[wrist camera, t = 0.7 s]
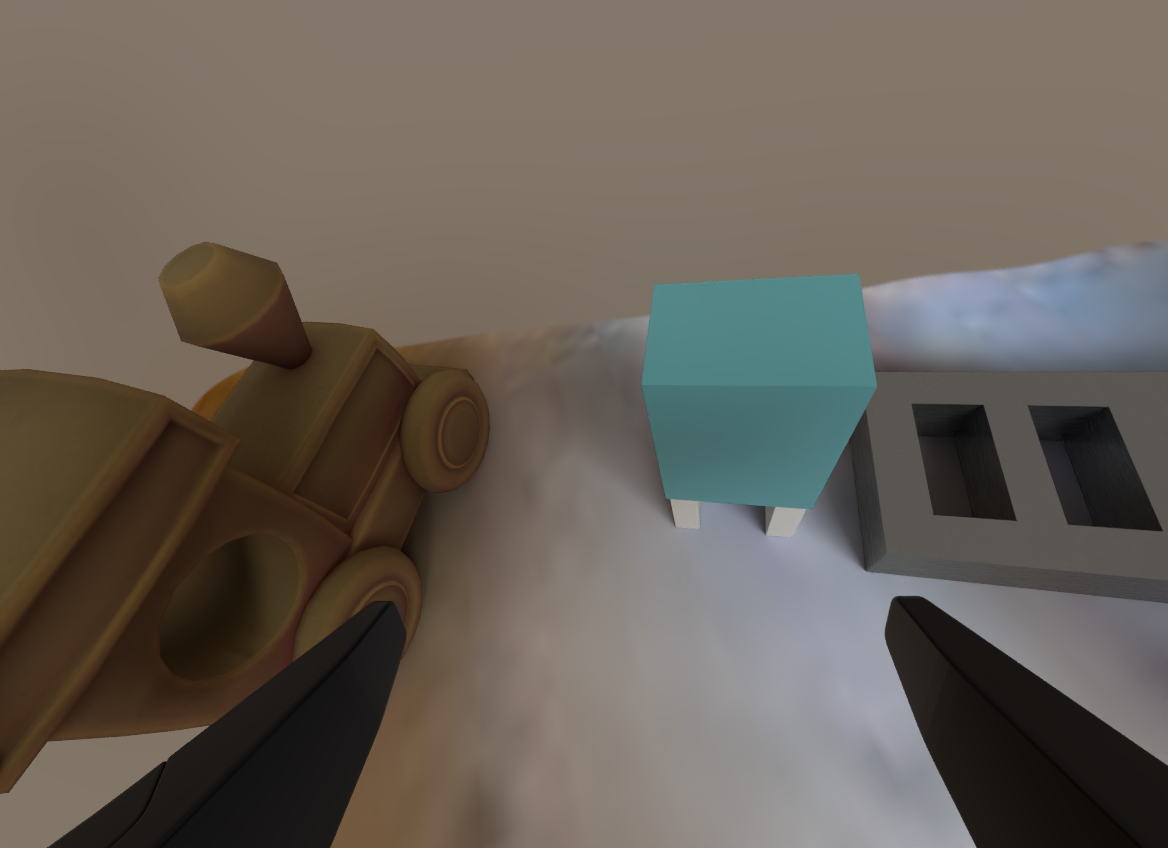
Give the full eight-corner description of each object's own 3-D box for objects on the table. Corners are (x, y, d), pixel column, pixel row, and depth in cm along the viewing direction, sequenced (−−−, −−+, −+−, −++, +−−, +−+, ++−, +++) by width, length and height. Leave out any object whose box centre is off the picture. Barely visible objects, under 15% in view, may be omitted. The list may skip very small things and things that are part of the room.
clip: (796, 537, 23) (877, 386, 12) (671, 526, 24) (641, 384, 13) (792, 463, 25) (859, 273, 14) (677, 457, 26) (654, 284, 15)
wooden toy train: (381, 757, 22) (-183, 852, 8) (215, 687, 26) (-370, 670, 12) (515, 402, 31) (355, 158, 17) (377, 388, 35) (154, 177, 21)
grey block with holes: (1427, 630, 16) (1557, 617, 14) (866, 571, 21) (886, 553, 19) (1286, 411, 21) (1366, 371, 18) (845, 404, 25) (860, 371, 23)
